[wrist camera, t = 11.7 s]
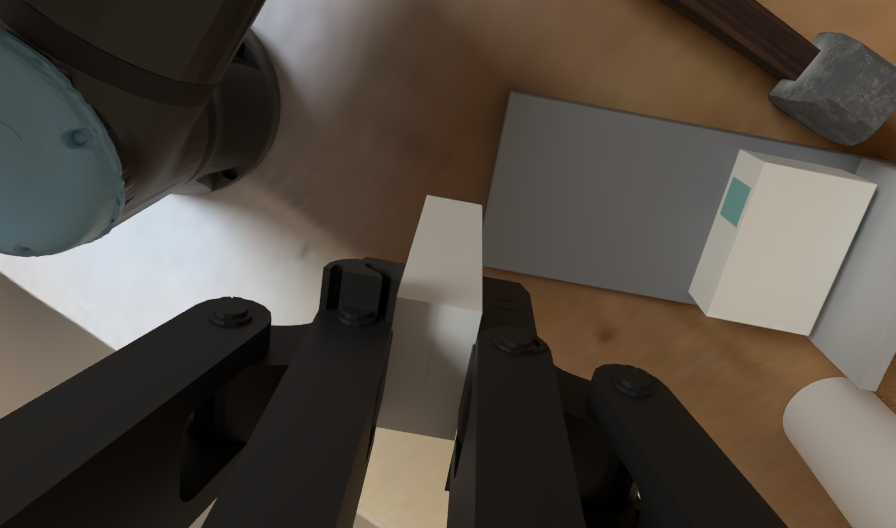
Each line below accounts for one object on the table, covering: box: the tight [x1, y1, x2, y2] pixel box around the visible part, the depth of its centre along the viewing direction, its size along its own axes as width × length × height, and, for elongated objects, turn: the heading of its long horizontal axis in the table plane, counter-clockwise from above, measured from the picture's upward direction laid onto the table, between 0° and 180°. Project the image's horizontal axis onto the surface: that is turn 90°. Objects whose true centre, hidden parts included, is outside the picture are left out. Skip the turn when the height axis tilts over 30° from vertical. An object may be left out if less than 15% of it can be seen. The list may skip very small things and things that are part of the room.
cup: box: [783, 377, 896, 528], centre depth 51 cm, size 8×8×16 cm
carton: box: [688, 149, 877, 336], centre depth 48 cm, size 8×12×4 cm
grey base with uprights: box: [482, 90, 896, 392], centre depth 46 cm, size 30×14×12 cm, turn 80°
